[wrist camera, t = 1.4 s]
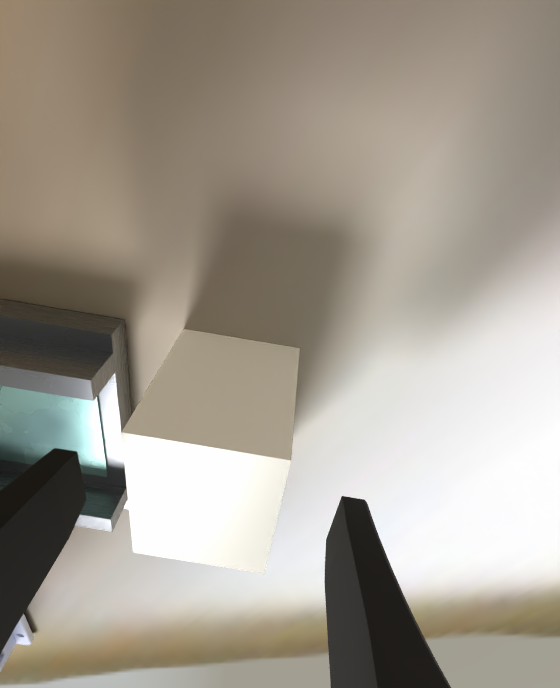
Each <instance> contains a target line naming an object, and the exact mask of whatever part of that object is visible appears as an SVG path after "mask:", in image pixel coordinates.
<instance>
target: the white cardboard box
mask: <svg viewBox="0 0 560 688" xmlns="http://www.w3.org/2000/svg"><path fill="white" fill-rule="evenodd" d="M299 351H300V348H296V347H290V346H284V345H278V344H272V343H266V342H260V341H254V340H248V339H242V338H236V337H230V336H224V335H218V334H212V333H206V332H200V331H194V330H188V329H183V330H182V332H181V334H180V335H179V337H178V339H177V340H176V342H175V344H174V345H173V347H172V349H171V350H170V352H169V354H168V355H167V357H166V359H165V360H164V362H163V364H162V365H161V367H160V369H159V370H158V372H157V374H156V375H155V377H154V379H153V380H152V382H151V384H150V385H149V387H148V389H147V390H146V392H145V394H144V395H143V397H142V399H141V400H140V402H139V404H138V405H137V407H136V409H135V410H134V412H133V414H132V415H131V417H130V419H129V420H128V422H127V424H126V425H125V427H124V429H123V430H122V432H121V434H122V444H123V454H124V464H125V474H126V485H127V495H128V505H129V515H130V525H131V536H132V546H133V552H134V553H140V554H146V555H152V556H158V557H165V558H171V559H177V560H183V561H189V562H195V563H201V564H207V565H213V566H219V567H225V568H231V569H237V570H243V571H249V572H255V573H262V574H265V571H266V567H267V562H268V558H269V554H270V550H271V545H272V541H273V537H274V532H275V528H276V524H277V519H278V515H279V511H280V506H281V502H282V498H283V493H284V489H285V485H286V480H287V476H288V472H289V467H290V463H291V455H292V442H293V429H294V416H295V403H296V390H297V377H298V364H299Z"/></svg>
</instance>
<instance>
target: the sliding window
mask: <svg viewBox="0 0 560 688" xmlns="http://www.w3.org/2000/svg"><path fill="white" fill-rule="evenodd" d="M131 415H132V410H131V396H130V383H129V370H128V357H127V344H126V331H125V320H123V319H117V318H111V317H105V316H99V315H93V314H87V313H81V312H75V311H69V310H63V309H57V308H51V307H45V306H39V305H33V304H28V303H22V302H16V301H10V300H4V299H0V490H1V489H3V488H4V487H5V486H6V485H8V484H9V483H10V482H12V481H13V480H14V479H15V478H17V477H18V476H19V475H21V474H22V473H23V472H24V471H26V470H27V469H28V468H29V467H31V466H32V465H33V464H34V463H36V462H37V461H38V460H40V459H41V458H42V457H43V456H45V455H46V454H47V453H49V452H50V451H51V450H53V449H54V448H59V449H65V450H71V451H77V452H78V457H79V463H80V468H81V473H82V478H83V484H84V489H85V494H86V499H87V500H86V502H85V504H84V506H83V509H82V511H81V513H80V515H79V518H78V520H77V522H76V524H75V526H79V527H85V528H91V529H98V530H104V531H110V532H112V531H113V529H114V527H115V525H116V523H117V521H118V519H119V516H120V514H121V512H122V510H123V509H129V505H128V495H127V485H126V474H125V464H124V454H123V444H122V434H121V432H122V430H123V429H124V427H125V425H126V424H127V422H128V420H129V419H130V417H131Z"/></svg>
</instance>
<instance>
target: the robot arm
mask: <svg viewBox="0 0 560 688" xmlns="http://www.w3.org/2000/svg"><path fill="white" fill-rule="evenodd" d="M86 500H87V499H86V494H85V489H84V484H83V478H82V473H81V468H80V463H79V457H78V452H77V451H71V450H65V449H59V448H54V449H53V450H51V451H50V452H49V453H47V454H46V455H45V456H43V457H42V458H41V459H40V460H38V461H37V462H36V463H34V464H33V465H32V466H31V467H29V468H28V469H27V470H26V471H24V472H23V473H22V474H21V475H19V476H18V477H17V478H15V479H14V480H13V481H12V482H10V483H9V484H8V485H6V486H5V487H4V488H3V489H1V490H0V672H1V670H2V668H3V666H4V665H5V663H6V661H7V659H8V657H9V656H10V654H11V652H12V650H13V648H14V647H15V645H16V644H22V645H29V644H31V643H32V641H33V639H34V636H33V634H32V632H31V629H30V627H29V625H28V622H27V620H26V617H25V615H24V612H25V611H26V609H27V607H28V606H29V604H30V602H31V601H32V599H33V597H34V596H35V594H36V592H37V591H38V589H39V587H40V586H41V584H42V582H43V581H44V579H45V577H46V576H47V574H48V572H49V571H50V569H51V567H52V566H53V564H54V562H55V561H56V559H57V557H58V556H59V554H60V552H61V551H62V549H63V547H64V545H65V544H66V542H67V540H68V539H69V537H70V535H71V533H72V530H73V528H74V526H75V524H76V522H77V520H78V518H79V515H80V513H81V511H82V509H83V506H84V504H85V502H86ZM325 596H326V613H327V630H328V646H329V663H330V678H331V688H451V687H450V685H449V683H448V681H447V680H446V678H445V676H444V674H443V672H442V671H441V669H440V667H439V665H438V663H437V662H436V660H435V658H434V656H433V654H432V652H431V650H430V648H429V646H428V644H427V642H426V641H425V639H424V637H423V635H422V633H421V631H420V629H419V626H418V624H417V622H416V620H415V618H414V616H413V614H412V612H411V610H410V608H409V606H408V604H407V602H406V599H405V597H404V595H403V593H402V591H401V588H400V586H399V584H398V582H397V579H396V577H395V575H394V573H393V570H392V568H391V566H390V563H389V561H388V558H387V556H386V553H385V551H384V548H383V546H382V543H381V541H380V538H379V536H378V533H377V530H376V528H375V525H374V522H373V519H372V516H371V513H370V510H369V507H368V504H367V502H366V501H365V500H362V499H356V498H350V497H344V496H342V497H341V500H340V503H339V506H338V508H337V511H336V514H335V517H334V520H333V522H332V525H331V528H330V531H329V534H328V536H327V539H326V557H325Z"/></svg>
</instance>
